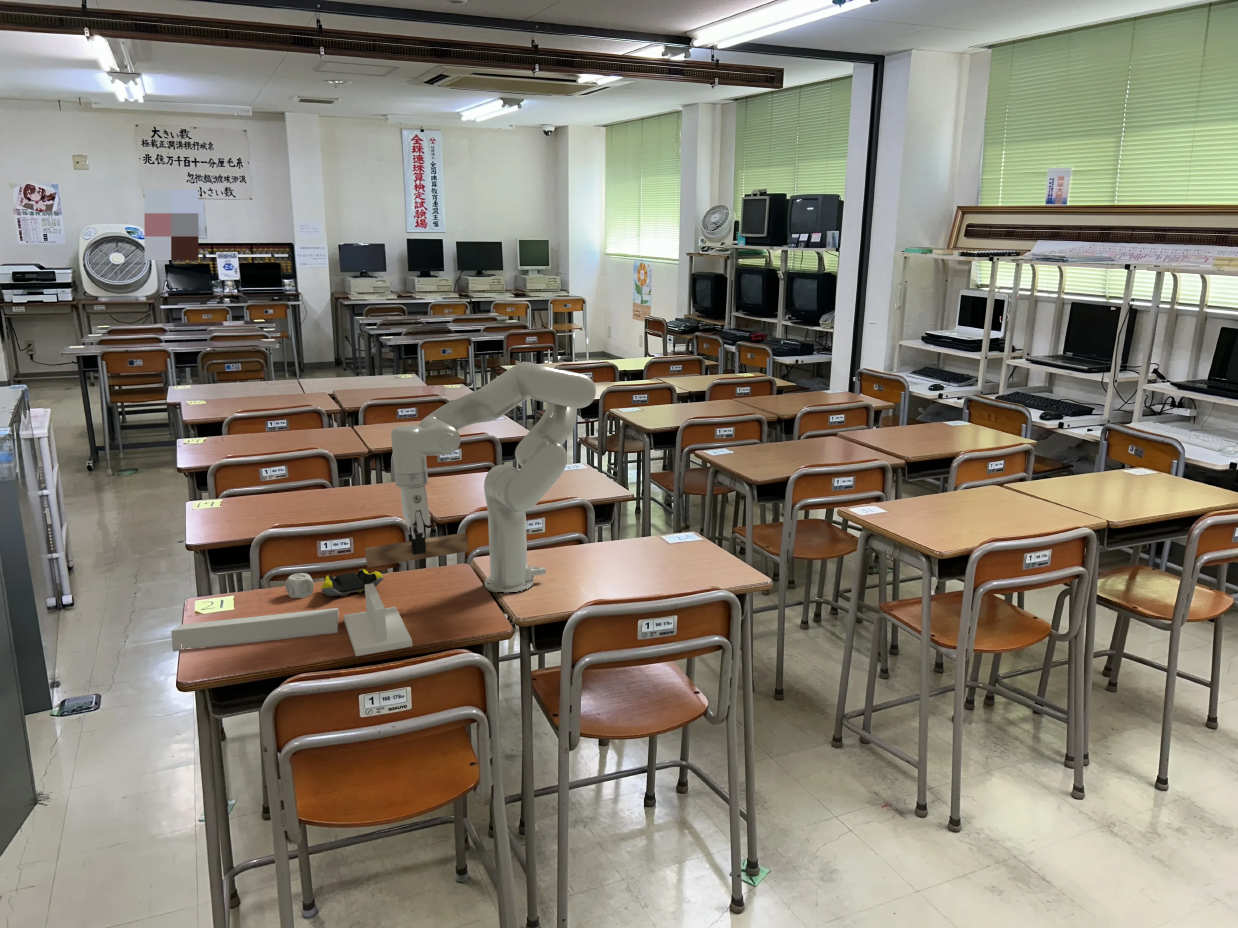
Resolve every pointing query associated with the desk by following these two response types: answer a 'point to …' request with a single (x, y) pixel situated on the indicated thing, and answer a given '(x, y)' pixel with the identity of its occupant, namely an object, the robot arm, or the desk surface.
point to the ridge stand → (376, 627)
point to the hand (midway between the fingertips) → (417, 550)
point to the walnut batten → (404, 553)
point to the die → (299, 585)
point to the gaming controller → (350, 582)
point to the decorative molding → (255, 629)
